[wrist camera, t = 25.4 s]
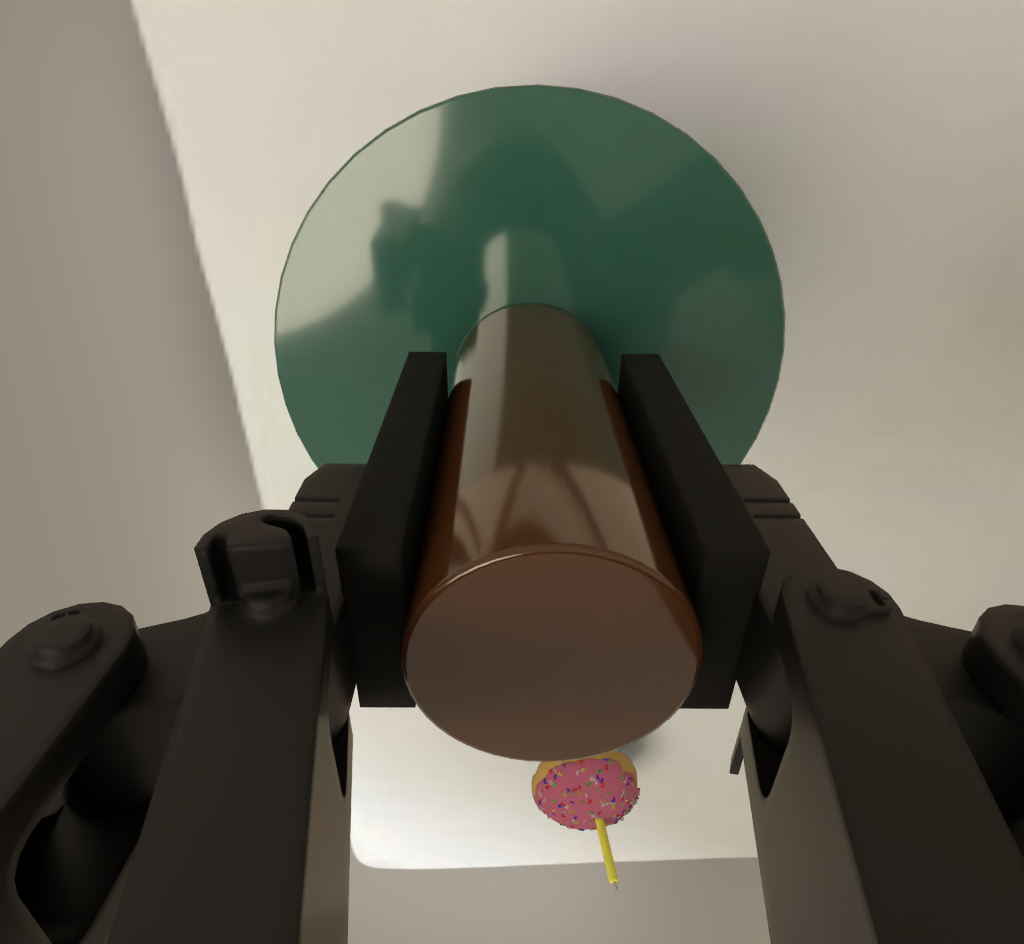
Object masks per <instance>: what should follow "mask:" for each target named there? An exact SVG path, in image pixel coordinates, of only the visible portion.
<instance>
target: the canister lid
mask: <svg viewBox="0 0 1024 944" xmlns="http://www.w3.org/2000/svg"><path fill="white" fill-rule="evenodd" d="M784 338H785V309H784V300H783V291H782V282H781V279H780V275H779V271H778V267H777V263H776V259H775V256H774V252H773V249H772V246H771V244H770V242H769V239H768V237H767V235H766V232H765V230H764V227H763V225H762V223H761V220H760V218H759V216H758V215H757V213H756V211H755V210H754V208H753V207H752V205H751V203H750V202H749V200H748V199H747V197H746V195H745V194H744V192H743V190H742V189H741V187H740V186H739V185H738V184H737V182H736V181H735V180H734V179H733V178H732V177H731V175H730V174H729V173H728V172H727V171H726V170H725V168H724V167H723V166H722V165H721V164H720V163H719V161H718V160H717V159H716V158H715V157H714V156H712V155H711V154H710V153H709V152H708V151H707V150H705V149H704V148H703V147H702V146H701V145H700V144H698V143H697V142H696V141H695V140H694V139H693V138H691V137H690V136H689V135H688V134H687V133H685V132H683V131H682V130H680V129H679V128H677V127H675V126H674V125H672V124H670V123H669V122H667V121H666V120H664V119H662V118H661V117H659V116H657V115H656V114H654V113H652V112H650V111H647V110H645V109H642V108H640V107H638V106H635V105H633V104H631V103H628V102H626V101H623V100H621V99H619V98H616V97H612V96H608V95H604V94H600V93H596V92H591V91H587V90H583V89H579V88H570V87H560V86H549V85H522V86H506V87H495V88H490V89H486V90H481V91H476V92H472V93H467V94H463V95H458V96H455V97H452V98H450V99H447V100H445V101H442V102H439V103H437V104H434V105H431V106H429V107H426V108H424V109H421V110H419V111H417V112H415V113H413V114H412V115H410V116H408V117H406V118H405V119H403V120H401V121H399V122H398V123H396V124H394V125H392V126H391V127H389V128H387V129H385V130H384V131H383V132H381V133H380V134H379V135H378V136H376V137H375V138H374V139H372V140H371V141H370V142H369V143H367V144H366V145H365V146H364V147H362V148H361V149H360V150H358V151H357V152H356V153H355V154H354V155H353V156H352V157H351V158H350V159H349V160H348V161H347V162H346V163H345V164H344V165H343V166H342V167H341V168H340V170H339V171H338V172H337V173H336V174H335V175H334V176H333V177H332V178H331V179H330V180H329V181H328V183H327V184H326V185H325V187H324V188H323V190H322V191H321V193H320V194H319V196H318V197H317V198H316V200H315V201H314V203H313V204H312V206H311V207H310V209H309V210H308V211H307V213H306V215H305V217H304V219H303V221H302V224H301V226H300V228H299V230H298V232H297V234H296V236H295V238H294V240H293V242H292V244H291V247H290V250H289V253H288V256H287V259H286V262H285V266H284V269H283V272H282V275H281V279H280V285H279V291H278V297H277V303H276V308H275V338H274V344H275V353H276V361H277V370H278V376H279V380H280V384H281V388H282V392H283V396H284V400H285V404H286V407H287V409H288V412H289V414H290V417H291V419H292V422H293V424H294V427H295V429H296V432H297V434H298V436H299V438H300V439H301V441H302V443H303V445H304V447H305V448H306V450H307V452H308V454H309V456H310V457H311V459H312V461H313V462H314V463H315V465H316V466H317V467H318V469H319V468H320V467H321V466H323V465H324V464H325V463H342V464H367V462H368V460H369V457H370V454H371V452H372V449H373V446H374V444H375V441H376V438H377V436H378V433H379V430H380V428H381V425H382V422H383V420H384V417H385V415H386V412H387V409H388V407H389V404H390V401H391V399H392V396H393V393H394V391H395V388H396V385H397V383H398V380H399V377H400V375H401V372H402V369H403V367H404V364H405V361H406V359H407V356H408V353H409V352H446V355H447V379H448V403H447V409H446V414H445V419H444V424H443V429H442V435H441V440H440V445H439V450H438V456H437V461H436V466H435V471H434V476H433V482H432V487H431V492H430V497H429V503H428V508H427V513H426V518H425V523H424V529H423V534H422V539H421V544H420V550H419V555H418V560H417V565H416V570H415V576H414V581H413V586H412V591H411V597H410V602H409V607H408V612H407V617H406V623H405V628H404V633H403V639H402V645H401V665H402V671H403V676H404V679H405V681H406V684H407V687H408V689H409V692H410V694H411V696H412V697H413V699H414V701H415V702H416V704H417V706H418V707H419V708H420V709H421V711H422V712H423V713H424V714H425V715H426V717H427V718H428V719H429V720H431V721H432V722H433V723H434V724H435V725H436V726H437V727H438V728H440V729H441V730H442V731H444V732H445V733H447V734H448V735H449V736H451V737H453V738H455V739H456V740H458V741H460V742H462V743H464V744H466V745H468V746H471V747H473V748H475V749H478V750H480V751H483V752H487V753H490V754H493V755H497V756H501V757H506V758H510V759H517V760H525V761H540V762H552V761H568V760H576V759H583V758H588V757H593V756H597V755H601V754H604V753H607V752H611V751H614V750H617V749H619V748H622V747H624V746H627V745H629V744H631V743H633V742H635V741H637V740H639V739H641V738H643V737H645V736H646V735H648V734H649V733H651V732H652V731H654V730H655V729H657V728H658V727H660V726H661V725H662V724H663V723H665V722H666V721H667V720H668V719H669V718H671V716H672V715H673V714H674V713H675V712H676V711H677V710H678V709H679V708H680V707H681V706H682V704H683V703H684V701H685V700H686V699H687V697H688V696H689V695H690V693H691V691H692V689H693V687H694V685H695V683H696V680H697V677H698V674H699V671H700V668H701V662H702V655H703V636H702V632H701V627H700V623H699V620H698V617H697V614H696V612H695V609H694V606H693V603H692V600H691V598H690V595H689V592H688V589H687V587H686V584H685V581H684V578H683V575H682V573H681V570H680V567H679V564H678V562H677V559H676V556H675V553H674V550H673V548H672V545H671V542H670V539H669V537H668V534H667V531H666V528H665V525H664V523H663V520H662V517H661V514H660V512H659V509H658V506H657V503H656V500H655V498H654V495H653V492H652V489H651V487H650V484H649V481H648V478H647V475H646V473H645V470H644V467H643V464H642V462H641V459H640V456H639V453H638V450H637V448H636V445H635V442H634V439H633V437H632V434H631V431H630V428H629V425H628V423H627V420H626V417H625V414H624V412H623V409H622V406H621V403H620V400H619V398H618V395H617V394H618V384H619V375H620V365H621V355H622V354H659V356H660V357H661V359H662V361H663V363H664V364H665V366H666V368H667V370H668V371H669V373H670V375H671V377H672V378H673V380H674V382H675V384H676V386H677V387H678V389H679V391H680V393H681V394H682V396H683V398H684V400H685V401H686V403H687V405H688V407H689V408H690V410H691V412H692V414H693V415H694V417H695V419H696V421H697V422H698V424H699V426H700V428H701V430H702V431H703V433H704V435H705V437H706V438H707V440H708V442H709V444H710V445H711V447H712V449H713V451H714V452H715V454H716V456H717V458H718V459H719V461H720V463H721V464H733V465H740V464H741V462H742V461H743V459H744V458H745V456H746V454H747V453H748V451H749V449H750V448H751V446H752V445H753V443H754V441H755V440H756V438H757V436H758V434H759V432H760V430H761V427H762V425H763V423H764V421H765V419H766V416H767V414H768V412H769V410H770V407H771V404H772V400H773V397H774V394H775V391H776V387H777V384H778V381H779V376H780V370H781V364H782V358H783V352H784Z"/></svg>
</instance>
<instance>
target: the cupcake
mask: <svg viewBox="0 0 1024 944" xmlns="http://www.w3.org/2000/svg"><path fill="white" fill-rule="evenodd" d="M532 794H533V798H534V801H535V803H536V804H537V806H538V808H540V809H539V810H540V811H542V812H543V813H544V814H547V816H548V819H549V817H550V818H551V819H552V820H554V821H556V822H558V823H560V825H564V826H566V827H567V828H572V829H578V830H581V831H584V829H590V830H594V829H597V831H598V835H599V839H600V844H601V848H602V852H603V857H604V861H605V865H606V869H607V874H608V878H609V882H610V883H613V884H614V887H615V891H616V894H617V895H619V892H618V888H617V885H616V882H617V881H618V878H617V874H616V869H615V865H614V861H613V857H612V853H611V848H610V844H609V840H608V836H607V832H606V828H605V827H606V826H608V825H612V824H616V823H618V821H619V820H621V821H622V820H624V817H623V816H624V815H626V814H628V813H629V812H630V811H631V809H632V808H633V805H635V804H637V799H639V798H638V795H639V796H640V788H637V773H636V769H635V767H634V766H633V764H632V762H631V760H630V759H629V758H628V757H627V756H625V755H624V754H622V753H620V752H619V750H618V749H617V750H614V751H611V752H607V753H604V754H601V755H597V756H593V757H588V758H583V759H576V760H568V761H552V762H541V763H540V764H539V766H538V768H537V771H536V773H535V774H534V775H533V777H532ZM634 803H635V804H634ZM541 809H542V810H541ZM627 812H628V813H627ZM622 817H623V819H622Z"/></svg>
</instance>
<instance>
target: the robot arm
mask: <svg viewBox="0 0 1024 944" xmlns="http://www.w3.org/2000/svg"><path fill="white" fill-rule="evenodd" d="M617 395H618V398H619V400H620V403H621V406H622V409H623V412H624V414H625V417H626V420H627V423H628V425H629V428H630V431H631V434H632V437H633V439H634V442H635V445H636V448H637V450H638V453H639V456H640V459H641V462H642V464H643V467H644V470H645V473H646V475H647V478H648V481H649V484H650V487H651V489H652V492H653V495H654V498H655V500H656V503H657V506H658V509H659V512H660V514H661V517H662V520H663V523H664V525H665V528H666V531H667V534H668V537H669V539H670V542H671V545H672V548H673V550H674V553H675V556H676V559H677V562H678V564H679V567H680V570H681V573H682V575H683V578H684V581H685V584H686V587H687V589H688V592H689V595H690V598H691V600H692V603H693V606H694V609H695V612H696V614H697V617H698V620H699V623H700V627H701V632H702V636H703V655H702V662H701V668H700V671H699V674H698V677H697V680H696V683H695V685H694V687H693V689H692V691H691V693H690V695H689V696H688V697H687V699H686V700H685V701H684V703H683V704H682V706H681V707H680V708H692V709H728V708H729V704H730V700H731V697H732V693H733V689H734V686H735V682H736V680H737V683H738V685H739V688H740V690H741V693H742V696H743V698H744V701H745V703H746V706H747V707H746V710H745V713H744V717H743V720H742V724H741V727H740V730H739V734H738V737H737V741H736V744H735V748H734V751H733V754H732V758H731V765H730V773H731V774H737V775H738V773H739V770H740V767H741V764H742V760H743V758H744V765H745V772H746V778H747V785H748V792H749V799H750V805H751V812H752V819H753V826H754V832H755V839H756V846H757V853H758V859H759V866H760V873H761V880H762V887H763V893H764V900H765V907H766V913H767V920H768V927H769V933H770V940H771V944H1024V606H1018V605H1007V604H1005V605H1001V606H996V607H991V608H988V609H987V610H986V611H985V612H984V613H983V614H982V615H981V616H980V617H979V619H978V621H977V623H976V625H975V627H974V629H973V631H972V632H970V631H965V630H961V629H956V628H951V627H947V626H942V625H938V624H933V623H929V622H924V621H920V620H916V619H912V618H909V617H905V616H904V615H903V613H902V611H901V609H900V608H899V606H898V605H897V604H896V603H895V601H894V600H893V599H892V597H891V596H890V595H889V594H888V593H887V592H886V591H884V590H883V589H881V588H880V587H879V586H877V585H876V584H874V583H873V582H872V581H870V580H868V579H866V578H863V577H861V576H859V575H856V574H854V573H852V572H850V571H845V570H841V569H837V567H836V566H835V564H834V563H833V561H832V560H831V558H830V557H829V556H828V554H827V553H826V551H825V550H824V548H823V547H822V545H821V544H820V542H819V541H818V540H817V538H816V537H815V535H814V534H813V532H812V531H811V529H810V528H809V526H808V525H807V524H806V522H805V521H804V519H801V518H800V513H799V512H798V510H797V509H796V508H795V506H794V505H793V503H790V499H789V497H788V496H787V494H786V493H785V492H784V490H783V489H782V487H781V486H780V484H779V483H778V481H777V480H775V479H774V478H772V477H771V476H769V475H768V474H767V473H765V472H764V471H762V470H761V469H759V468H758V467H757V466H755V465H733V464H721V463H720V461H719V459H718V458H717V456H716V454H715V452H714V451H713V449H712V447H711V445H710V444H709V442H708V440H707V438H706V437H705V435H704V433H703V431H702V430H701V428H700V426H699V424H698V422H697V421H696V419H695V417H694V415H693V414H692V412H691V410H690V408H689V407H688V405H687V403H686V401H685V400H684V398H683V396H682V394H681V393H680V391H679V389H678V387H677V386H676V384H675V382H674V380H673V378H672V377H671V375H670V373H669V371H668V370H667V368H666V366H665V364H664V363H663V361H662V359H661V357H660V356H659V354H622V355H621V365H620V375H619V384H618V394H617ZM447 403H448V379H447V355H446V352H409V353H408V356H407V359H406V361H405V364H404V367H403V369H402V372H401V375H400V377H399V380H398V383H397V385H396V388H395V391H394V393H393V396H392V399H391V401H390V404H389V407H388V409H387V412H386V415H385V417H384V420H383V422H382V425H381V428H380V430H379V433H378V436H377V438H376V441H375V444H374V446H373V449H372V452H371V454H370V457H369V460H368V462H367V464H342V463H325V464H324V465H323V466H321V467H320V468H319V469H317V470H316V471H315V472H313V473H312V474H311V475H310V476H308V477H307V478H306V479H305V480H304V481H303V483H302V485H301V487H300V489H299V491H298V493H297V495H296V497H295V502H293V503H292V505H291V506H290V508H289V510H260V511H255V512H250V513H245V514H241V515H238V516H236V517H233V518H231V519H228V520H226V521H223V522H221V523H220V524H218V525H217V526H215V527H214V528H212V529H211V530H210V531H208V532H207V533H205V534H204V535H203V536H202V538H201V539H200V541H199V542H198V543H197V545H196V546H195V548H194V550H195V553H196V557H197V560H198V564H199V567H200V570H201V574H202V577H203V580H204V583H205V587H206V590H207V594H208V597H209V600H210V603H211V607H210V610H209V611H208V612H206V613H204V614H201V615H197V616H193V617H190V618H187V619H182V620H178V621H173V622H169V623H164V624H159V625H155V626H150V627H145V628H141V629H138V628H137V625H136V622H135V620H134V617H133V615H131V614H130V613H129V612H128V611H127V610H126V609H125V608H123V607H122V606H119V605H114V604H110V603H105V602H98V603H86V604H78V605H75V606H71V607H68V608H64V609H61V610H58V611H54V612H52V613H50V614H48V615H46V616H44V617H42V618H40V619H38V620H36V621H34V622H32V623H30V624H28V625H27V626H26V627H24V628H23V629H22V630H21V631H20V632H18V633H17V634H16V635H14V636H13V637H12V638H10V639H9V640H8V641H7V642H6V643H5V644H4V645H3V646H2V647H1V648H0V944H347V940H348V903H349V902H348V900H349V865H350V827H351V789H352V751H353V734H352V728H351V722H350V717H349V710H350V706H351V702H352V698H353V694H354V690H355V686H356V684H357V690H358V697H359V703H360V707H415V706H416V702H415V701H414V699H413V697H412V696H411V694H410V692H409V689H408V687H407V684H406V681H405V679H404V676H403V671H402V665H401V645H402V639H403V633H404V628H405V623H406V617H407V612H408V607H409V602H410V597H411V591H412V586H413V581H414V576H415V570H416V565H417V560H418V555H419V550H420V544H421V539H422V534H423V529H424V523H425V518H426V513H427V508H428V503H429V497H430V492H431V487H432V482H433V476H434V471H435V466H436V461H437V456H438V450H439V445H440V440H441V435H442V429H443V424H444V419H445V414H446V409H447Z"/></svg>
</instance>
